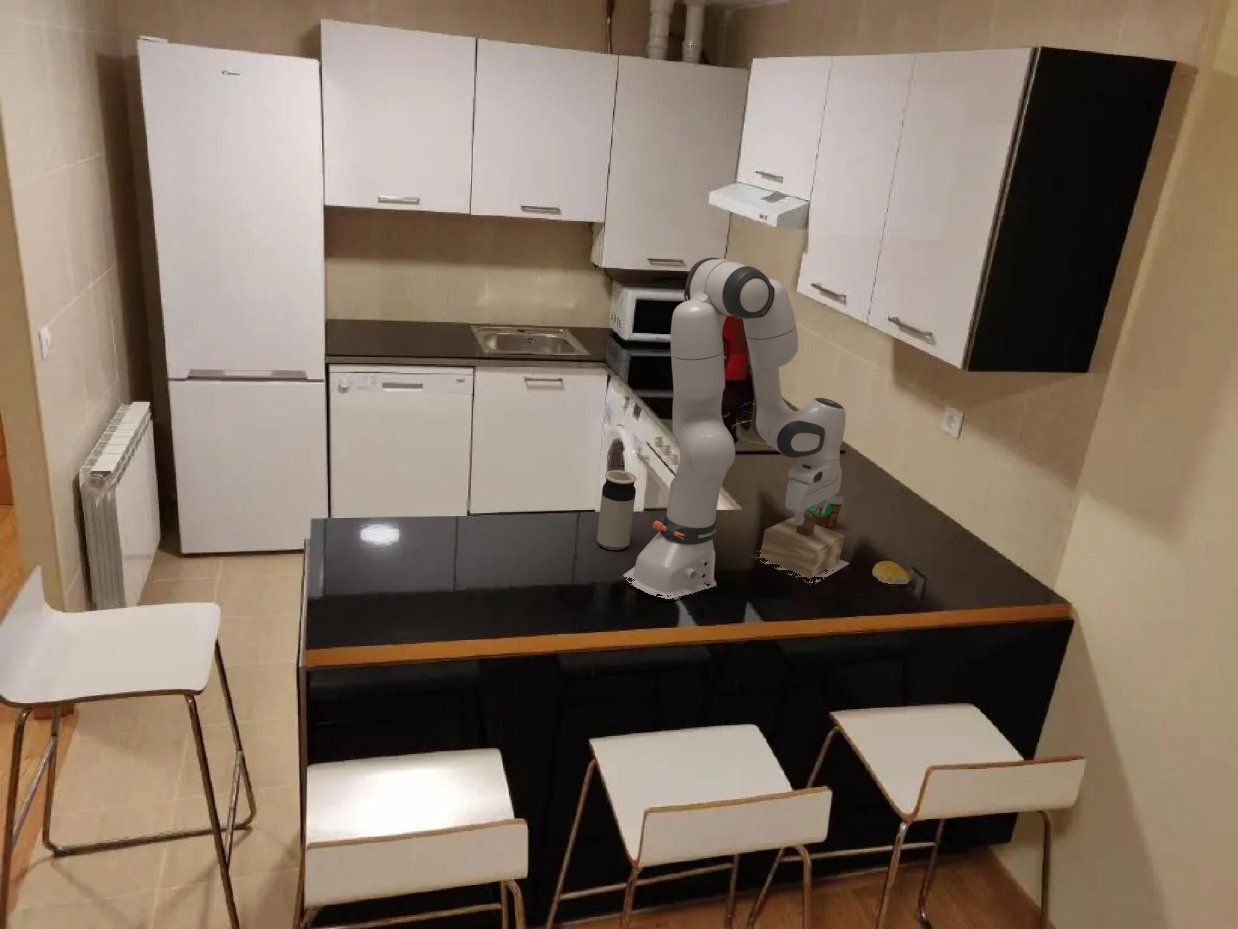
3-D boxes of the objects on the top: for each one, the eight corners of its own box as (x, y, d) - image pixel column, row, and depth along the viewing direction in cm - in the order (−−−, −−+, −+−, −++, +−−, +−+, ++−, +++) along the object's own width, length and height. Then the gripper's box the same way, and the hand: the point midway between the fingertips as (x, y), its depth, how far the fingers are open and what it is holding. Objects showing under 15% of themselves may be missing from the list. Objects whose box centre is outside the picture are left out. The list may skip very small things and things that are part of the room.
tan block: (809, 579, 217) (818, 535, 213) (759, 556, 225) (767, 514, 221) (838, 562, 227) (847, 521, 223) (790, 541, 235) (797, 501, 231)
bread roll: (894, 570, 228) (898, 555, 227) (913, 588, 220) (916, 573, 219) (864, 570, 226) (867, 556, 225) (882, 588, 218) (885, 573, 217)
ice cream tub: (793, 513, 254) (800, 480, 251) (812, 512, 257) (819, 479, 253) (817, 532, 244) (824, 498, 240) (837, 531, 246) (844, 497, 242)
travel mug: (610, 554, 219) (618, 484, 212) (589, 541, 224) (597, 472, 218) (635, 547, 224) (644, 479, 217) (615, 534, 229) (623, 467, 223)
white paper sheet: (812, 586, 214) (812, 584, 214) (748, 557, 225) (748, 556, 225) (849, 565, 227) (849, 563, 227) (787, 538, 238) (787, 537, 238)
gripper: (828, 452, 227) (819, 503, 232) (784, 471, 212) (776, 525, 217) (851, 460, 223) (842, 512, 228) (808, 479, 208) (799, 534, 213)
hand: (809, 519), depth 222 cm, fingers open, 8 cm apart
